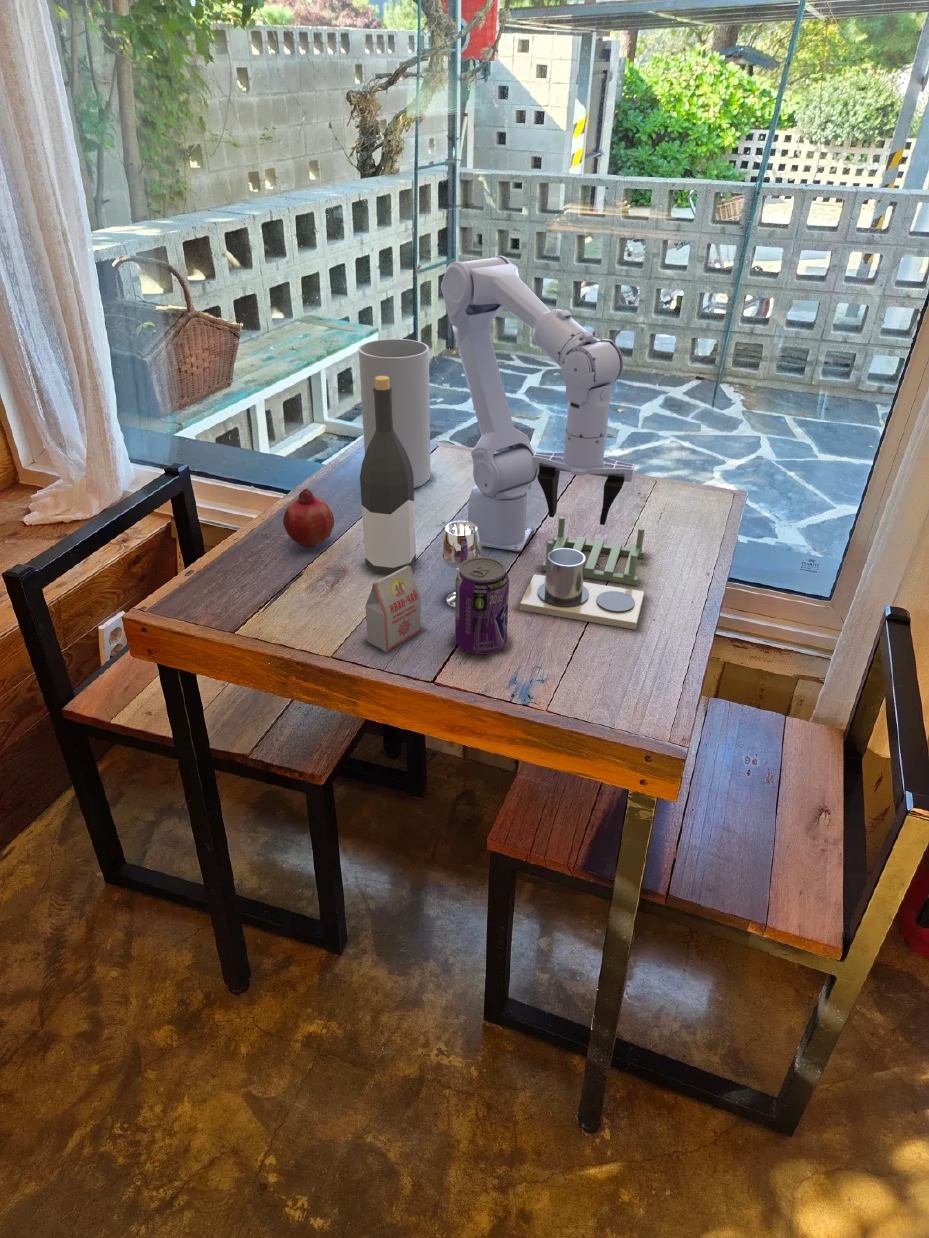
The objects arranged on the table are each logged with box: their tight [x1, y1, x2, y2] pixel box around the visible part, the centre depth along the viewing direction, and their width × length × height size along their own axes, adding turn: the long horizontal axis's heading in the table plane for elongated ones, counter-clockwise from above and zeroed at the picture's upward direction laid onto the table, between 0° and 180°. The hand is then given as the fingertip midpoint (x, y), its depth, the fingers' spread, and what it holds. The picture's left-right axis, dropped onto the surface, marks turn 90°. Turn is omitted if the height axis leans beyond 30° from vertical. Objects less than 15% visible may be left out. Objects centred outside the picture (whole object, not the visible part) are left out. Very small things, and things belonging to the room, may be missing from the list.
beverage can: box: [454, 556, 510, 655], centre depth 110 cm, size 7×7×12 cm
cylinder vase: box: [358, 338, 432, 489], centre depth 153 cm, size 12×12×25 cm
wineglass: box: [441, 520, 483, 608], centre depth 120 cm, size 6×6×12 cm
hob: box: [519, 573, 645, 631], centre depth 122 cm, size 17×9×2 cm, turn 73°
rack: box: [541, 516, 646, 586], centre depth 132 cm, size 15×10×5 cm
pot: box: [545, 547, 587, 602], centre depth 121 cm, size 6×6×6 cm
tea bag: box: [364, 565, 422, 652], centre depth 112 cm, size 4×7×10 cm, turn 139°
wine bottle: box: [359, 376, 417, 576], centre depth 124 cm, size 8×8×30 cm
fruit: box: [282, 488, 335, 548], centre depth 135 cm, size 8×8×10 cm
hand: (577, 518), depth 123 cm, fingers open, 7 cm apart
